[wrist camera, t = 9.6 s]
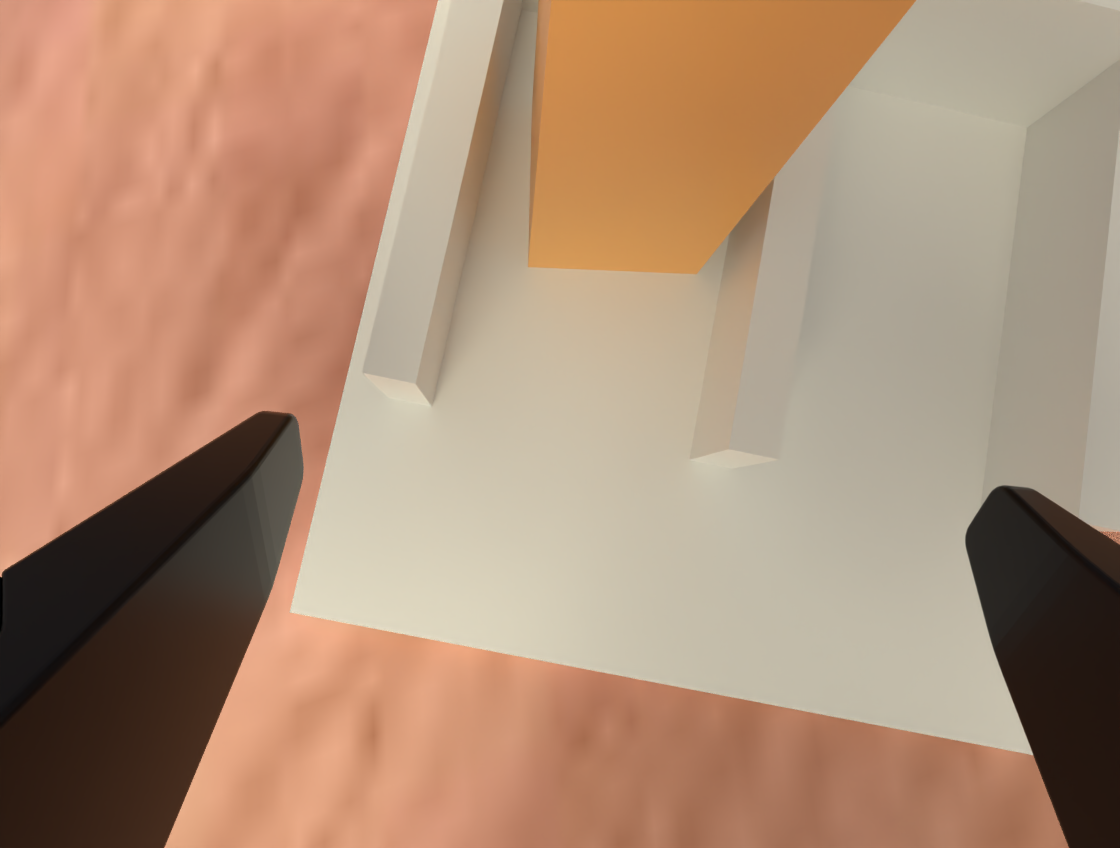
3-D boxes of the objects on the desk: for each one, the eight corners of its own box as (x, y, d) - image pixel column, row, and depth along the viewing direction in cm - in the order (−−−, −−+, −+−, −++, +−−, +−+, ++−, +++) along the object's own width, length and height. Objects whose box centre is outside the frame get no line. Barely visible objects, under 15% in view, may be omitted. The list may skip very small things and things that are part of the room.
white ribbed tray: (1017, 747, 17) (1202, 832, 13) (297, 608, 16) (216, 646, 12) (1094, 52, 20) (1274, -87, 15) (468, -99, 19) (456, -295, 14)
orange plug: (696, 273, 17) (1243, -408, 4) (528, 267, 17) (593, -482, 4) (696, 115, 18) (1190, -916, 5) (531, 106, 18) (602, -1011, 5)
